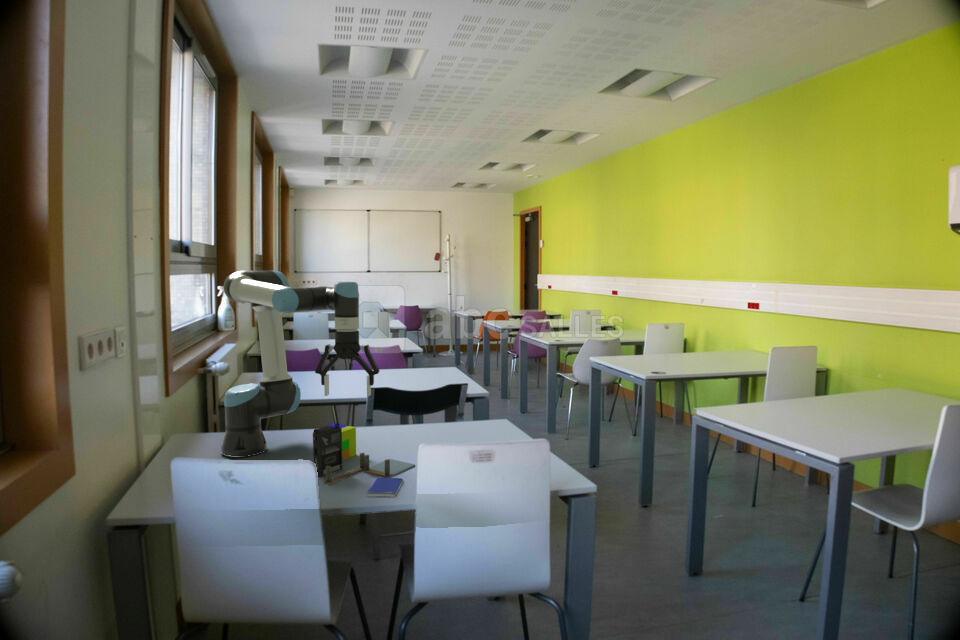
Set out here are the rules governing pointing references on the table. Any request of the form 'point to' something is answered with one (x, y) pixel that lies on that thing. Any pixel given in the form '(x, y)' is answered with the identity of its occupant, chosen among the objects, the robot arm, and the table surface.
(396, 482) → the blue book
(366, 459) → the narrow gate
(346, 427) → the puzzle toy
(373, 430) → the table surface
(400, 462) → the pad
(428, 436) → the table surface
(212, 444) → the table surface
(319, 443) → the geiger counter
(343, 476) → the wide gate
